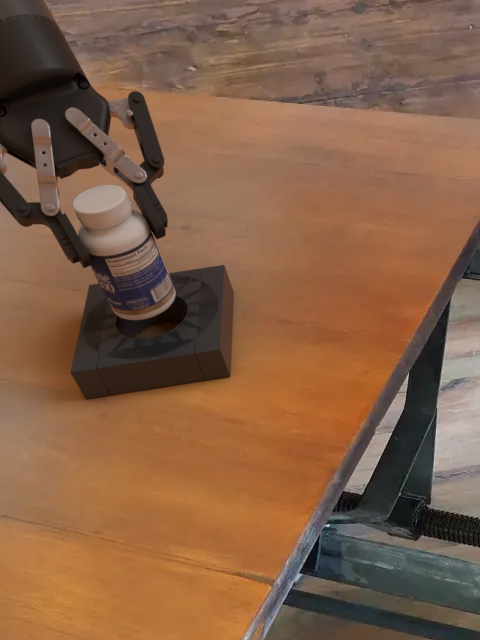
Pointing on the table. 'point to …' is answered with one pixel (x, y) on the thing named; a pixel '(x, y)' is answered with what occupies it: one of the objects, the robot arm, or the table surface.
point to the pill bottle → (123, 253)
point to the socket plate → (157, 339)
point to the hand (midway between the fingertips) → (124, 248)
